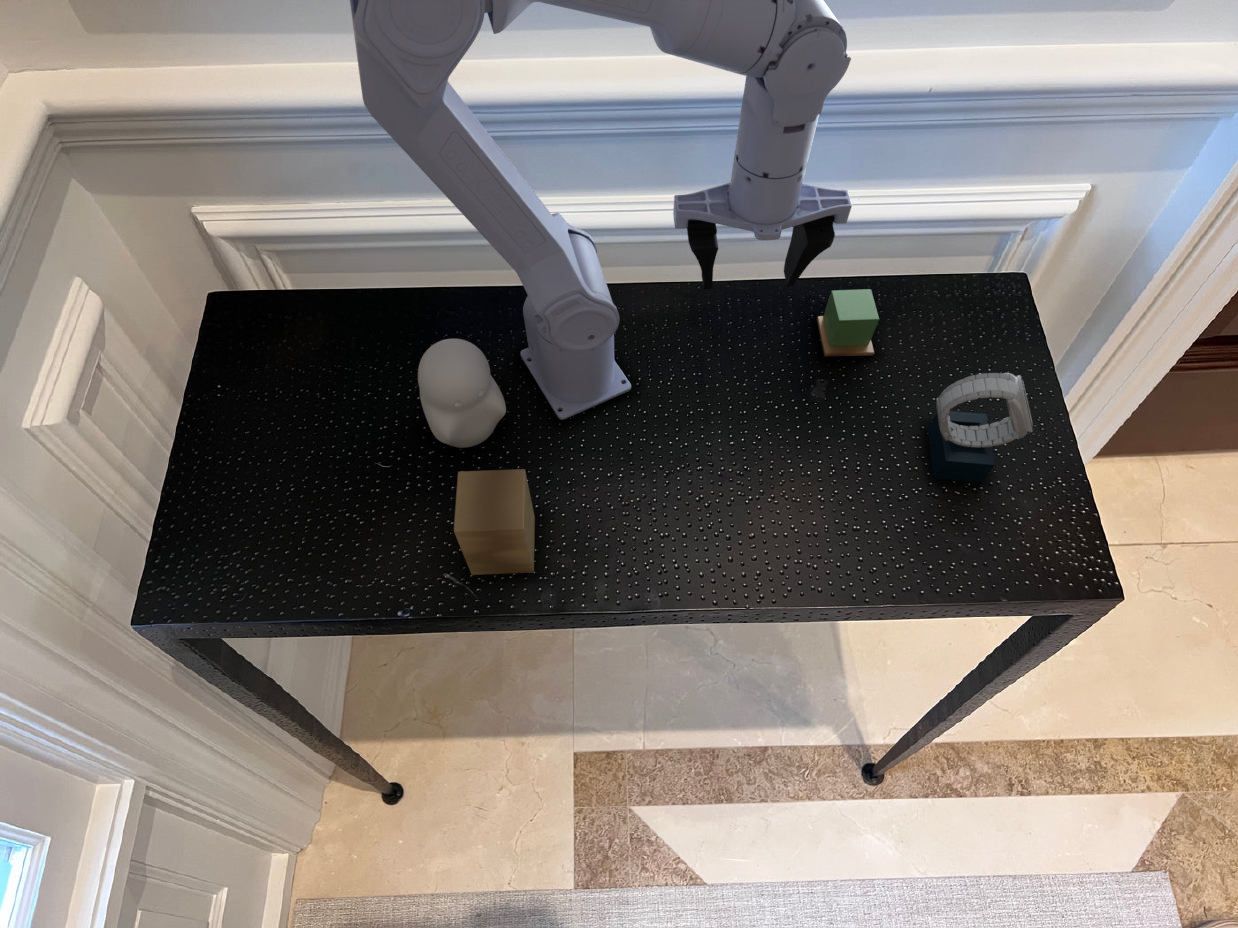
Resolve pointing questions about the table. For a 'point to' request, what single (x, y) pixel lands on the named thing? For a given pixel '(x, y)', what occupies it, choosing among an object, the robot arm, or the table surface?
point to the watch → (975, 426)
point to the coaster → (841, 349)
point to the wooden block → (495, 521)
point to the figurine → (459, 393)
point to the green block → (850, 318)
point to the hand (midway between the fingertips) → (747, 280)
